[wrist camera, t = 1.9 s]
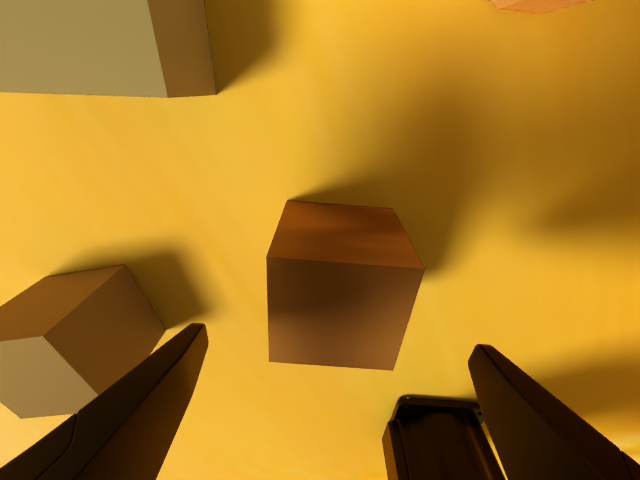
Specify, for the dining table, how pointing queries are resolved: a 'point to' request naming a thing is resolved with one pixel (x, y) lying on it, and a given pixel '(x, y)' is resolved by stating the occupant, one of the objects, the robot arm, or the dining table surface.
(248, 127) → the dining table surface
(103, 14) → the base block
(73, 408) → the brown block
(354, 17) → the dining table surface
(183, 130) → the dining table surface
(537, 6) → the white cup
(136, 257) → the dining table surface
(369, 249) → the walnut block
